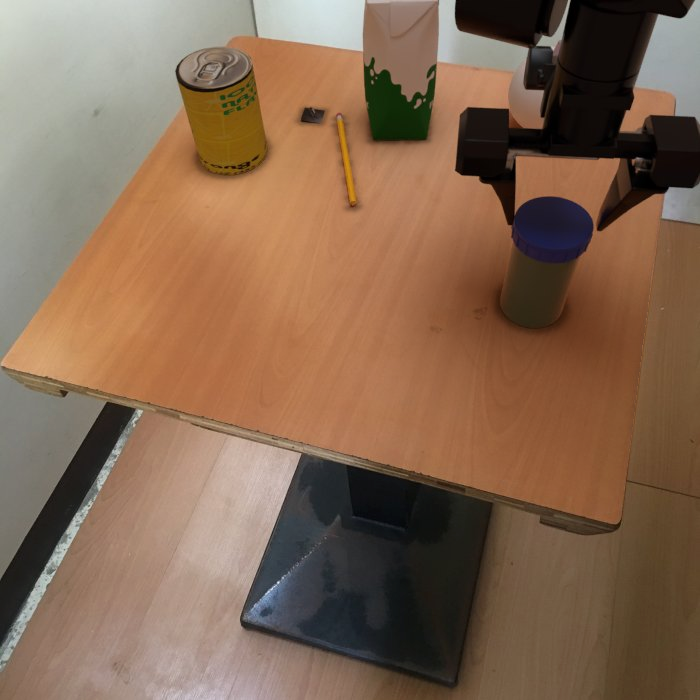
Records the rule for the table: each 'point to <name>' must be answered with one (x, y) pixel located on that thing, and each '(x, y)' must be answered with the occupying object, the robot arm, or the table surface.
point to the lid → (552, 229)
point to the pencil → (346, 160)
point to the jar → (535, 289)
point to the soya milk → (400, 66)
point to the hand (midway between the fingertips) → (553, 224)
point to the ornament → (526, 98)
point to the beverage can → (223, 109)
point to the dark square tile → (312, 115)
